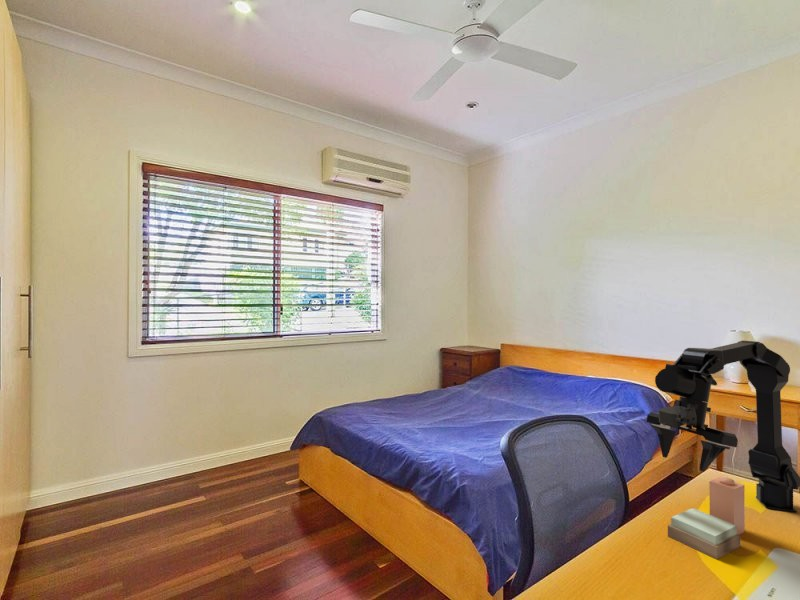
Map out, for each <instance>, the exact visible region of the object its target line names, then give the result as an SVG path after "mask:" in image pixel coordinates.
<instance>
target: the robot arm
mask: <svg viewBox="0 0 800 600" xmlns="http://www.w3.org/2000/svg"><path fill="white" fill-rule="evenodd" d="M737 362H739V364H741V366H742V367H743V368H744V369H745V370H746V375H747V379H748V381H749V382H750V384H751V385H752V387H753V388H754V389H755V401H756V403H755V405H756V407H755V408H756V429H757V431H756V432H757V433H756V434H757V443H756V444H755V445H754V447H753V448H750V449H749V450H748V465H749V469H750V473H751V475H752V478H755V479H758V483H756V493H755V494H756V496H755V499H757V500H758V502H759V503H760V504H762V505H763V507H765V508H766V509H770V510H777V511H784V512H785V511H786V512H792V513H797V512H798V511H797V509H796V508H795V507H794V490H797V491H798V490H799V488H800V475H799V473H797V471H796V470H795V469H794V467H793V463H792V458H791V455H790V454H789V453H788V452H787V450H786V449H785V447H784V445H783V430H782V407H781V406H782V403H781V400H782V399H781V391H782V390H783V388H784V387H785V386H786V385H787V384H788V382H789V375H790V373H791V367H790V365H789V363H788V362H787V361H786V360H785V358H784V357H783V356H782V355H781V354H778V353H777V352H775V351H773V350H772V349H769V348H768V347H767V346H766V345H765V344H764V343H763V342H761V341H756V340H755V341H753V340H739V341H737V342H735V343H729V344H725V345H721V346H716V347H713V348H712V347H711V348H705V347H704V348H703V347H702V348H701V347H687V348H685V349H684V350H683V352H682V353H681V354H680V356H679V357H678V358H677V359H676V361H675V362H674V363H673V364H672V363H666V364H665V368H663V369H660V371H658V372H657V374H656V375H655V377H654V384H655V386H656V388H657V389H658V390H659V391H660V392H663V393H666V394H670V395H674V396H679V399H675V400H674V401H673V405H672V406H665V407H662V408H658V409H657V411H658V412H653V411H650V412H649V413H648V414H647V415H646V421H645V422H646V423H650V425H649V427H651V428H653V430H654V431H655V432H656V434H657V437H658V441H659V446H660V451H661V455H662V458H668V457H669V454H670V452H671V451H670V450H671V448H672V444H673V441H674V438H675V435H676V432H677V431H676V430H675V429H678V430H681V431H684V432H688V433H691V434H695V435H698V436H701V437H703V438H704V440H702V439H700V443H701V446H702V451H701V456H700V462H699V472H703V473H704V472H705V471H707V470H708V468H709V467H710V466H711V464H712V463H713V462H714V461H715V460H716V459H717V457H719V455H721V454H722V453H723V452H724V451H725V450H731V447H732V448H738V443H739V440H738V437H737V436H736V435H737V434H735V433H731V432H729V431H728V432H727V431H726V430H725V431H724V430H721V429H716V428H712V427H709V424H706V418H707V412H708V413H710V412H711V410H712V407H708V405H709V401H710V394H711V388H712V386H718V382H717V381H716V380H715V379H714V377H713V375H715V374H717V373H719V372H721V371H723V370H724V368H725V366H726V365H729V364H733V363H737ZM684 425H685V426H684ZM673 428H674V430H673Z"/></svg>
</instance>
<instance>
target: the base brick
mask: <svg viewBox="0 0 800 600" xmlns="http://www.w3.org/2000/svg"><path fill="white" fill-rule="evenodd" d="M670 520H671V521H670V524H668V525H667V537H669V538H671V539H673V540H675V541H676V542H679V543H681V544H684V545H685V546H688V547H689V548H691V549H694V550H696V551H698V552H700V553H702V554H705V555H707V556H709V557H711V558H713V559H715V560H718V559H720V558H722V557H725V556H726V555H727V554H729V553H732V552H733V551H735V550H736V549H739V548H740V547H741V542H742V541H741V534H737V525H734V524H732V523H729V522H727V521H724V520H722V519H719V518H717V517H714V516H712V515H710V513H707V512H704V511H701V510H699V509H696V508H693V507H691V508H690V509H687V510H685V511H683V512H680V513H677V514H675V515H673V516H671V517H670Z"/></svg>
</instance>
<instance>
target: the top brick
mask: <svg viewBox="0 0 800 600" xmlns="http://www.w3.org/2000/svg"><path fill="white" fill-rule="evenodd" d="M745 490H746V488H745V484H743V483H740V482H737V481H735V480H734V479H732V478H729V477H723V476H720V477H717V478H714V479H712V480H709V515H712V516H714V517H717V518H719V519H722V520H724V521H727V522H729V523H732V524H734V525H737V534H739V535H741V534H743V533H745V532H746V531H745V529H746V528H745V527H746V523H745V522H746V521H745V519H746V517H745V516H746V515H745V510H746V509H745V504H746V503H745V498H746V497H745Z"/></svg>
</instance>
